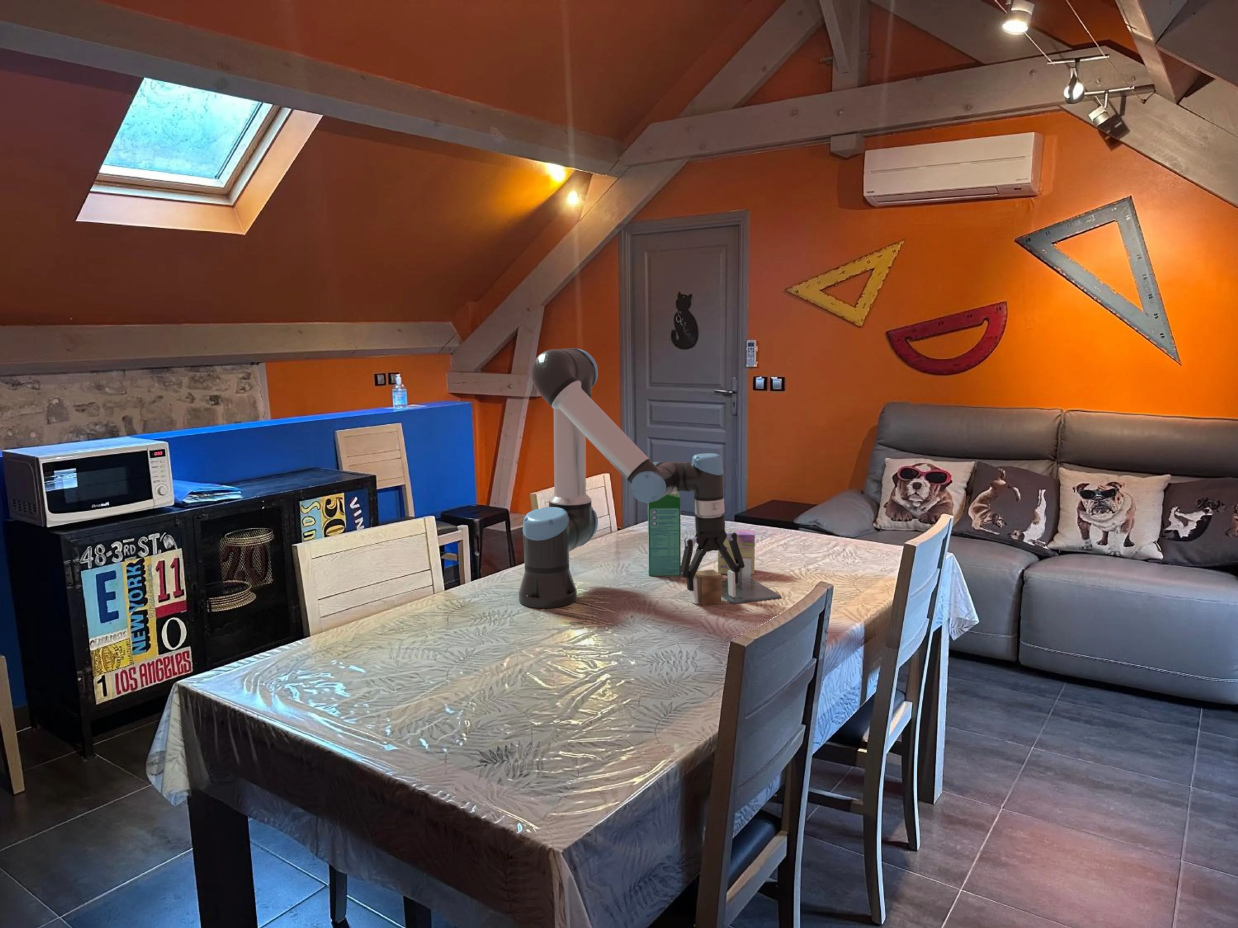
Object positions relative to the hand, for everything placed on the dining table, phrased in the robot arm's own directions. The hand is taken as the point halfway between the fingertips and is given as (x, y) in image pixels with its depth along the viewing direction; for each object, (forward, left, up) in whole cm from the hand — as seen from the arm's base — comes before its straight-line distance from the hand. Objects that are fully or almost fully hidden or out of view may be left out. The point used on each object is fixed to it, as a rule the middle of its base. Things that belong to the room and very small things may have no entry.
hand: (713, 598), depth 221 cm
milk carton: (-1, +30, -1) cm, 30 cm away
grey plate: (+11, +5, -1) cm, 12 cm away
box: (+18, +22, -1) cm, 28 cm away
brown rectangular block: (-1, 0, -1) cm, 2 cm away
